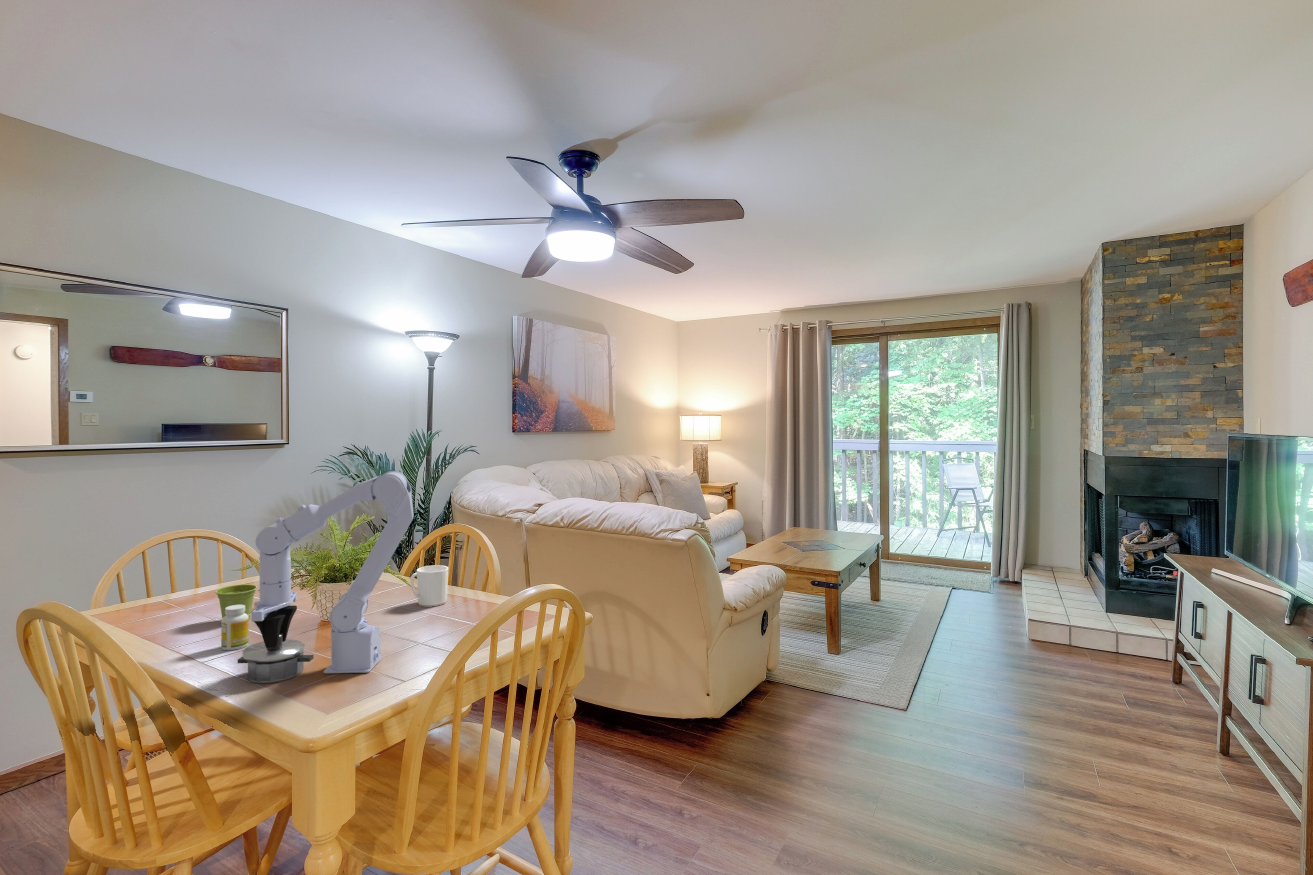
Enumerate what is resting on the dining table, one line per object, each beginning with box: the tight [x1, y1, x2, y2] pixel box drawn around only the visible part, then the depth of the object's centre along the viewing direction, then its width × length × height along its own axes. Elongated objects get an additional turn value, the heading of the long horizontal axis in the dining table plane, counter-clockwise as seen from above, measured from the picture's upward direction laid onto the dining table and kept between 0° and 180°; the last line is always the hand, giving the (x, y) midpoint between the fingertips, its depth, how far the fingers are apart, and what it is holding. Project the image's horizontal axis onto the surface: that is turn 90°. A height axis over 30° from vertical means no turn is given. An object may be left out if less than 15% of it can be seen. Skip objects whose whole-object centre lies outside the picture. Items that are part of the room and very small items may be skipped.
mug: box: [410, 564, 449, 608], centre depth 182 cm, size 11×9×10 cm
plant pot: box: [214, 583, 258, 620], centre depth 166 cm, size 9×9×9 cm
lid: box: [242, 633, 305, 663], centre depth 131 cm, size 11×11×5 cm
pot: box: [237, 651, 314, 685], centre depth 131 cm, size 15×10×4 cm
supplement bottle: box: [220, 605, 250, 651], centre depth 147 cm, size 5×5×10 cm
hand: (275, 644), depth 131 cm, fingers closed on lid, 3 cm apart
